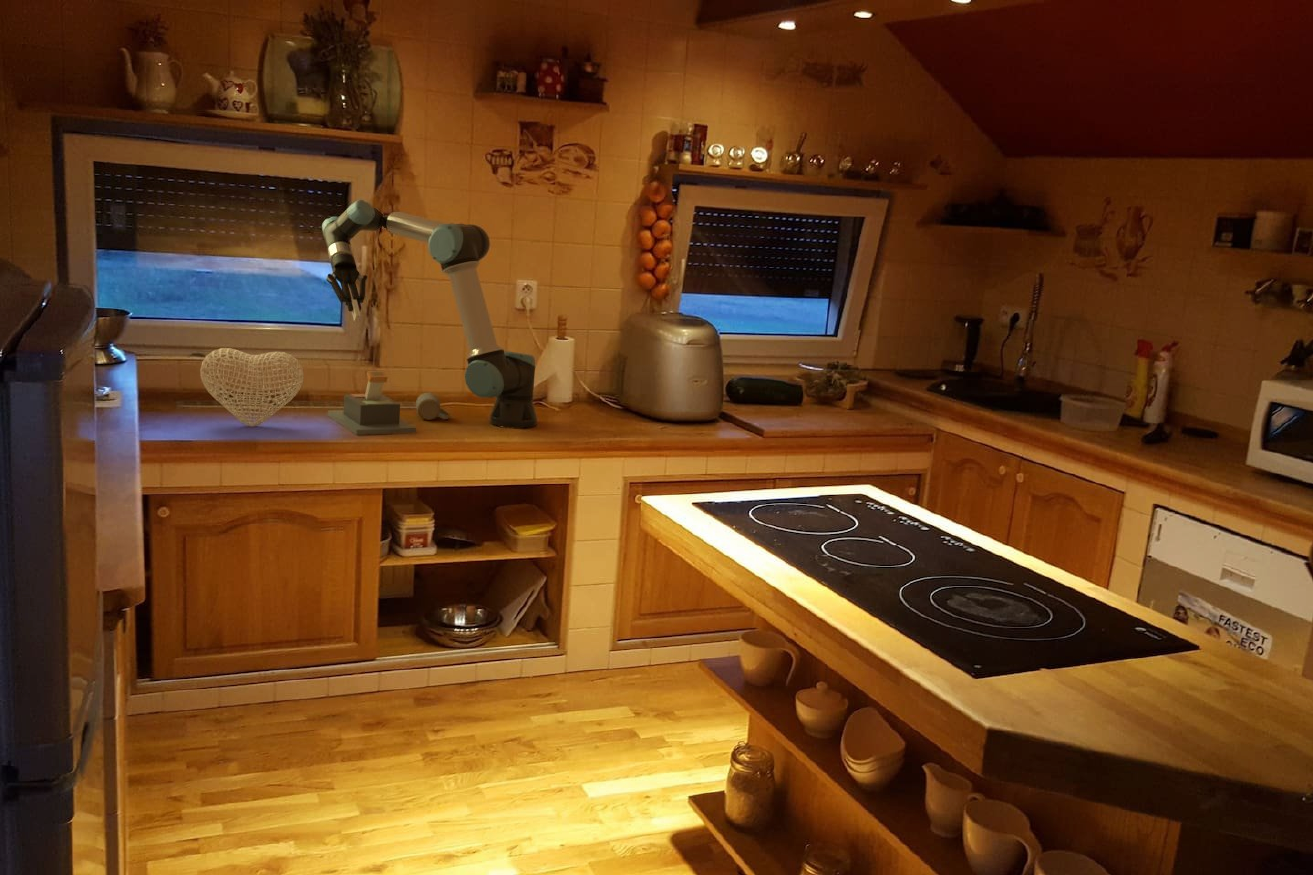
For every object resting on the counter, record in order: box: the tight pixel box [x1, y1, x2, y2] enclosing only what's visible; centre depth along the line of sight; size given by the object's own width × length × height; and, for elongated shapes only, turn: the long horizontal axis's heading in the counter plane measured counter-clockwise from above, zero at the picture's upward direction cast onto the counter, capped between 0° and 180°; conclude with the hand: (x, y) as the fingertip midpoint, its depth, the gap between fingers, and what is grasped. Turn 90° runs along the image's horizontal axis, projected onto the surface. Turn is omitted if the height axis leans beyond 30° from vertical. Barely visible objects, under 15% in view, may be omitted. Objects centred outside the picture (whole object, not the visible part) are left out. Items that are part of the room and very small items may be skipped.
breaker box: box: [327, 393, 417, 436], centre depth 331 cm, size 28×18×8 cm, turn 33°
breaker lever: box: [364, 370, 389, 400], centre depth 328 cm, size 3×5×9 cm, turn 124°
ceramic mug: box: [415, 392, 451, 421], centre depth 347 cm, size 11×8×8 cm
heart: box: [199, 347, 304, 428], centre depth 313 cm, size 28×16×22 cm, turn 96°
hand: (357, 318), depth 339 cm, fingers closed
